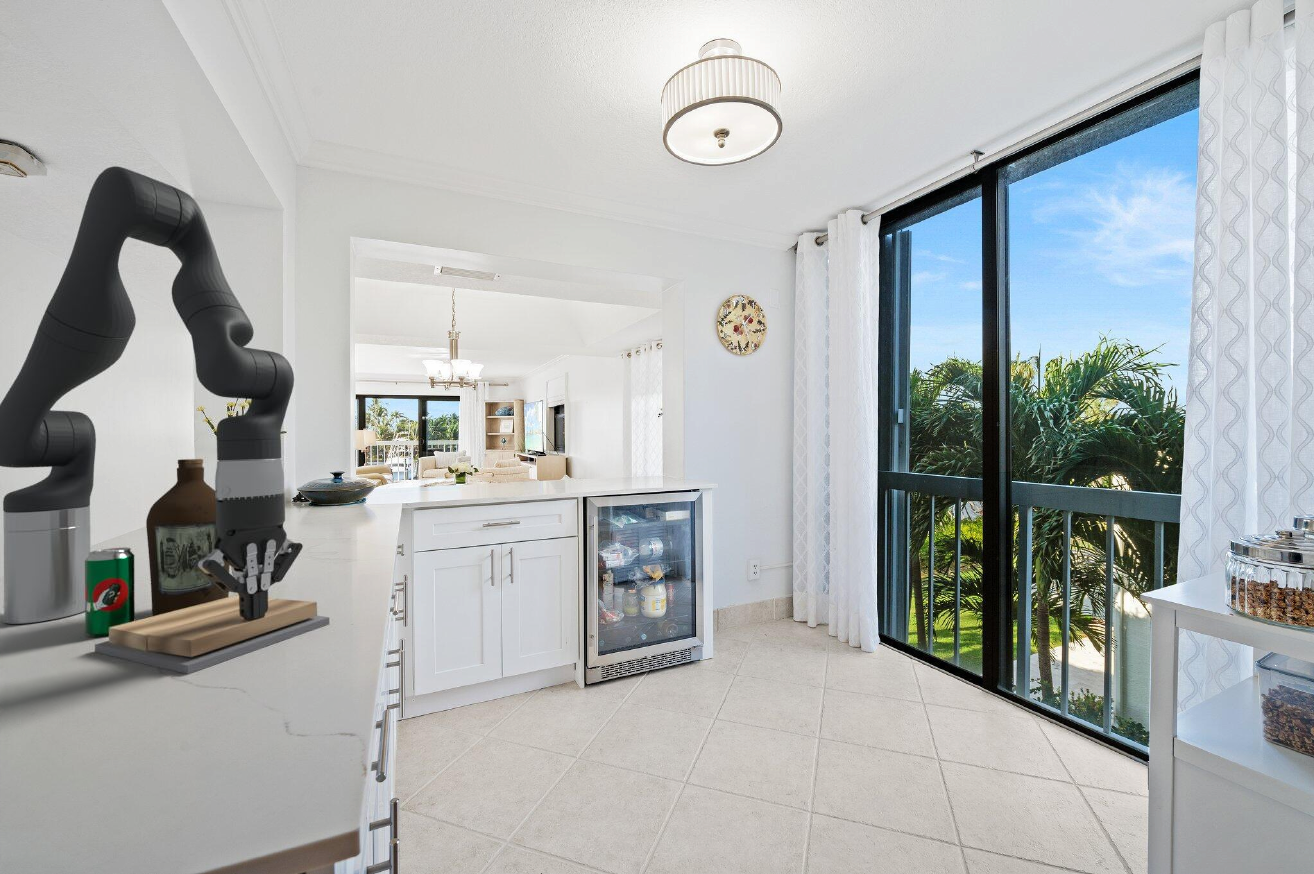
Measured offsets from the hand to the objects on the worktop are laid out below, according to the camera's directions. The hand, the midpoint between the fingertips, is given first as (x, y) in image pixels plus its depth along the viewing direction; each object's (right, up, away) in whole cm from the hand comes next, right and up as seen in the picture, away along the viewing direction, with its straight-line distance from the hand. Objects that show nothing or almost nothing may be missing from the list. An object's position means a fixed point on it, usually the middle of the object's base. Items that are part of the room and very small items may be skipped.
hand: (254, 618), depth 72 cm
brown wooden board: (-3, -2, +1) cm, 4 cm away
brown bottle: (-22, -4, +15) cm, 26 cm away
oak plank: (-11, -4, +4) cm, 13 cm away
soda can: (-25, -4, +5) cm, 26 cm away
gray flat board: (-7, -4, +3) cm, 8 cm away
